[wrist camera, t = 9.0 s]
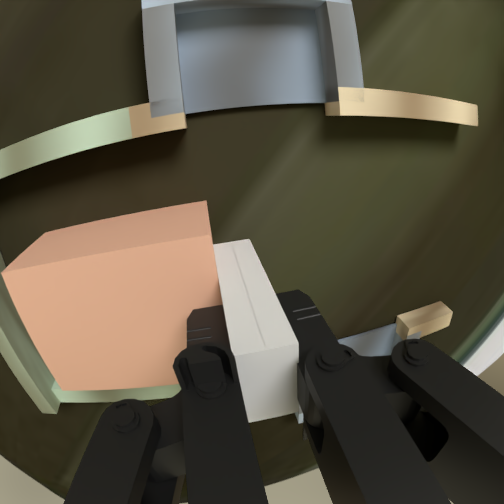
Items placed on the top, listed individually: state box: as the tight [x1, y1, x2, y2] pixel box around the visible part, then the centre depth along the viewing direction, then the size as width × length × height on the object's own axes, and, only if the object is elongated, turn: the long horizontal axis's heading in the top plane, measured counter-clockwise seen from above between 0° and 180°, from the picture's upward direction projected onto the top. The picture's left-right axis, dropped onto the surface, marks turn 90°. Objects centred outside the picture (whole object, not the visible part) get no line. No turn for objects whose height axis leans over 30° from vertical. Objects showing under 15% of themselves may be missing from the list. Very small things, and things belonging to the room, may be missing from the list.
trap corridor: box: [0, 0, 478, 423], centre depth 13 cm, size 27×25×2 cm
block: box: [1, 201, 223, 391], centre depth 12 cm, size 6×8×4 cm
